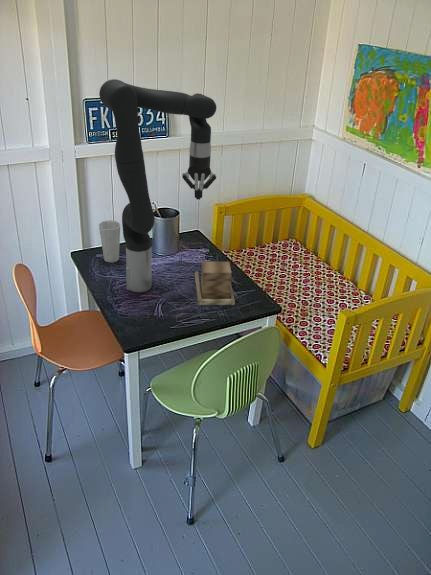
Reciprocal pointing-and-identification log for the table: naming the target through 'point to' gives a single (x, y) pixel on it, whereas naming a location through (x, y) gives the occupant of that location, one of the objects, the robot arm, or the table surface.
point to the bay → (212, 301)
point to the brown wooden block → (215, 280)
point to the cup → (110, 240)
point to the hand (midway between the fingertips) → (198, 198)
